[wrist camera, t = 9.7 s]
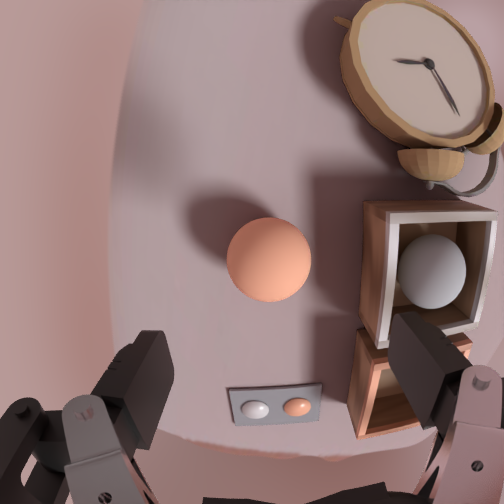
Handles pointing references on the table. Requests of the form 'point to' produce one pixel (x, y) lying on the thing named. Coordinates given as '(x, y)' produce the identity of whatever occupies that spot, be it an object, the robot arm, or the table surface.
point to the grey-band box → (395, 242)
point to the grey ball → (431, 271)
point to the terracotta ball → (268, 259)
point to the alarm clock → (423, 87)
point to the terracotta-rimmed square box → (382, 389)
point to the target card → (276, 405)
